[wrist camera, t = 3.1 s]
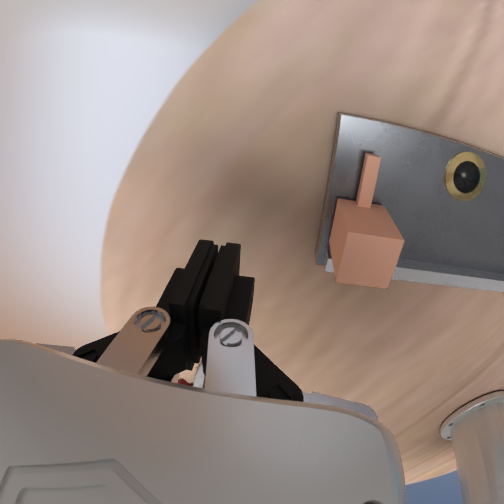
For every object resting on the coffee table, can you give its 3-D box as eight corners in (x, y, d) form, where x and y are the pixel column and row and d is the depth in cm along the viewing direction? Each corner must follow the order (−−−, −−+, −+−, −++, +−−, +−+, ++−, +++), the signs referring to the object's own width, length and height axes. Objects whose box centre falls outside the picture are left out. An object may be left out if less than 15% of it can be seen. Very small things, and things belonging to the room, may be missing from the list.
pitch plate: (575, 191, 15) (616, 223, 10) (538, 282, 20) (568, 324, 15) (338, 112, 17) (357, 126, 12) (315, 252, 22) (319, 311, 17)
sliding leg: (394, 157, 16) (421, 181, 13) (372, 247, 19) (387, 288, 16) (346, 148, 17) (361, 169, 13) (329, 241, 20) (335, 282, 16)
